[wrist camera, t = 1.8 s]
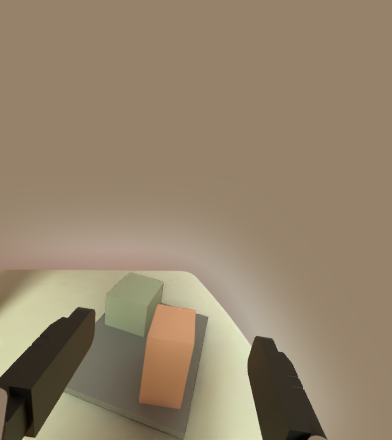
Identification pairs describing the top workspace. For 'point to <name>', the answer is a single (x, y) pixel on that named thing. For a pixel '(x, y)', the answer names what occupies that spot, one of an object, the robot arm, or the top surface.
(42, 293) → the top surface
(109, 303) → the bottom brick
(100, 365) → the baseplate
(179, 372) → the top brick
